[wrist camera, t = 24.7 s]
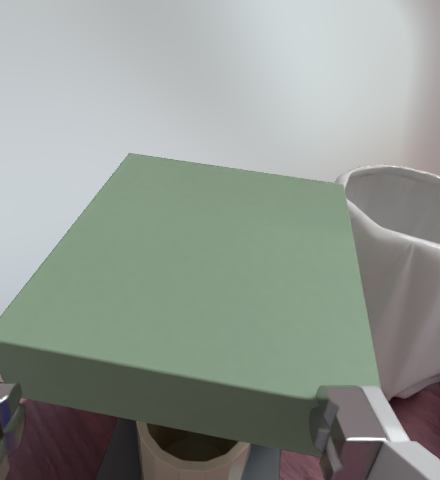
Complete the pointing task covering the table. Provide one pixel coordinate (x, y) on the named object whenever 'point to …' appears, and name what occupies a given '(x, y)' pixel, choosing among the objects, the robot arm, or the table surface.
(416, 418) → the table surface
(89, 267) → the coffee maker
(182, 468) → the creamer cup
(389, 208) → the vase
